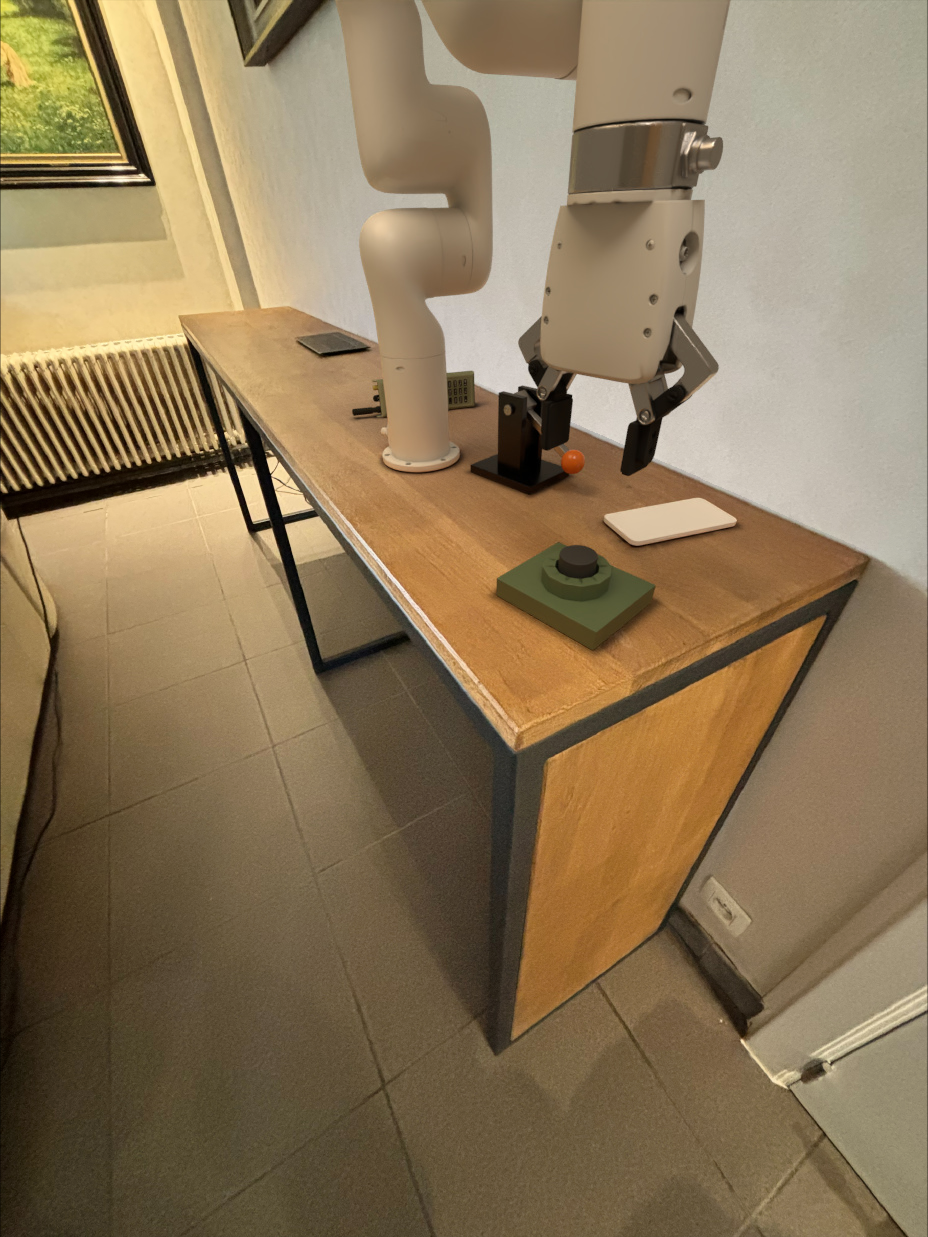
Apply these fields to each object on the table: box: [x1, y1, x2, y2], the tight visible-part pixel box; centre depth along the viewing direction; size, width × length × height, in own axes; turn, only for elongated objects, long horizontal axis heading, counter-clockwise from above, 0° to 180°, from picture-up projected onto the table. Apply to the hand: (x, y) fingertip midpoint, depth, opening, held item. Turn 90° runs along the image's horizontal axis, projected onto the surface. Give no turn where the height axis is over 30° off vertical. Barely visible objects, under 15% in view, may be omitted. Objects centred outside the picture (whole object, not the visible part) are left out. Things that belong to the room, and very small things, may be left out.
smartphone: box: [603, 497, 737, 546], centre depth 62 cm, size 7×1×15 cm
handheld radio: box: [351, 370, 476, 419], centre depth 99 cm, size 7×3×25 cm
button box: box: [495, 541, 656, 651], centre depth 49 cm, size 12×10×4 cm
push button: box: [558, 544, 599, 579], centre depth 48 cm, size 4×4×2 cm
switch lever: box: [513, 390, 586, 475], centre depth 68 cm, size 14×3×3 cm, turn 44°
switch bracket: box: [469, 385, 570, 496], centre depth 72 cm, size 12×9×12 cm
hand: (592, 456), depth 41 cm, fingers open, 7 cm apart
